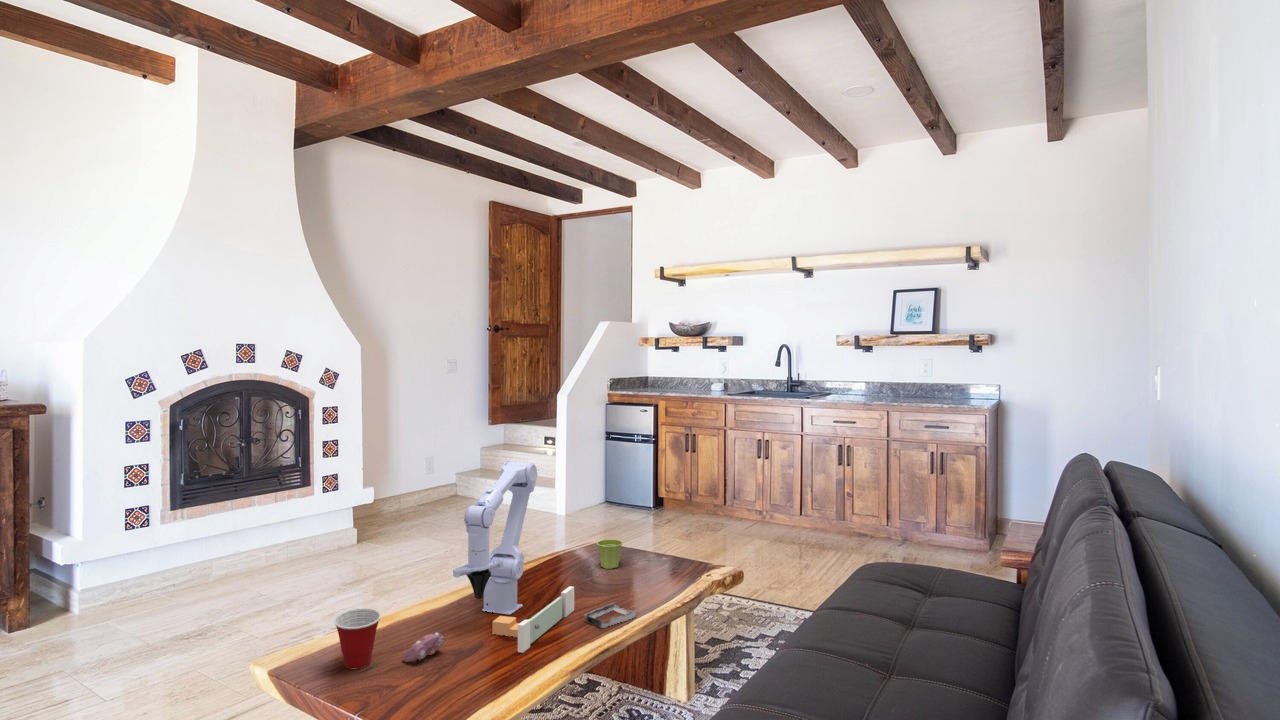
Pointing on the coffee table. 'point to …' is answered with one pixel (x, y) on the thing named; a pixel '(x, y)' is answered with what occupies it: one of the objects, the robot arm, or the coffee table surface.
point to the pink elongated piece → (424, 647)
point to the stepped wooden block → (505, 626)
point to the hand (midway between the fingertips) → (478, 597)
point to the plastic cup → (357, 635)
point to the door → (546, 618)
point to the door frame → (525, 625)
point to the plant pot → (609, 553)
